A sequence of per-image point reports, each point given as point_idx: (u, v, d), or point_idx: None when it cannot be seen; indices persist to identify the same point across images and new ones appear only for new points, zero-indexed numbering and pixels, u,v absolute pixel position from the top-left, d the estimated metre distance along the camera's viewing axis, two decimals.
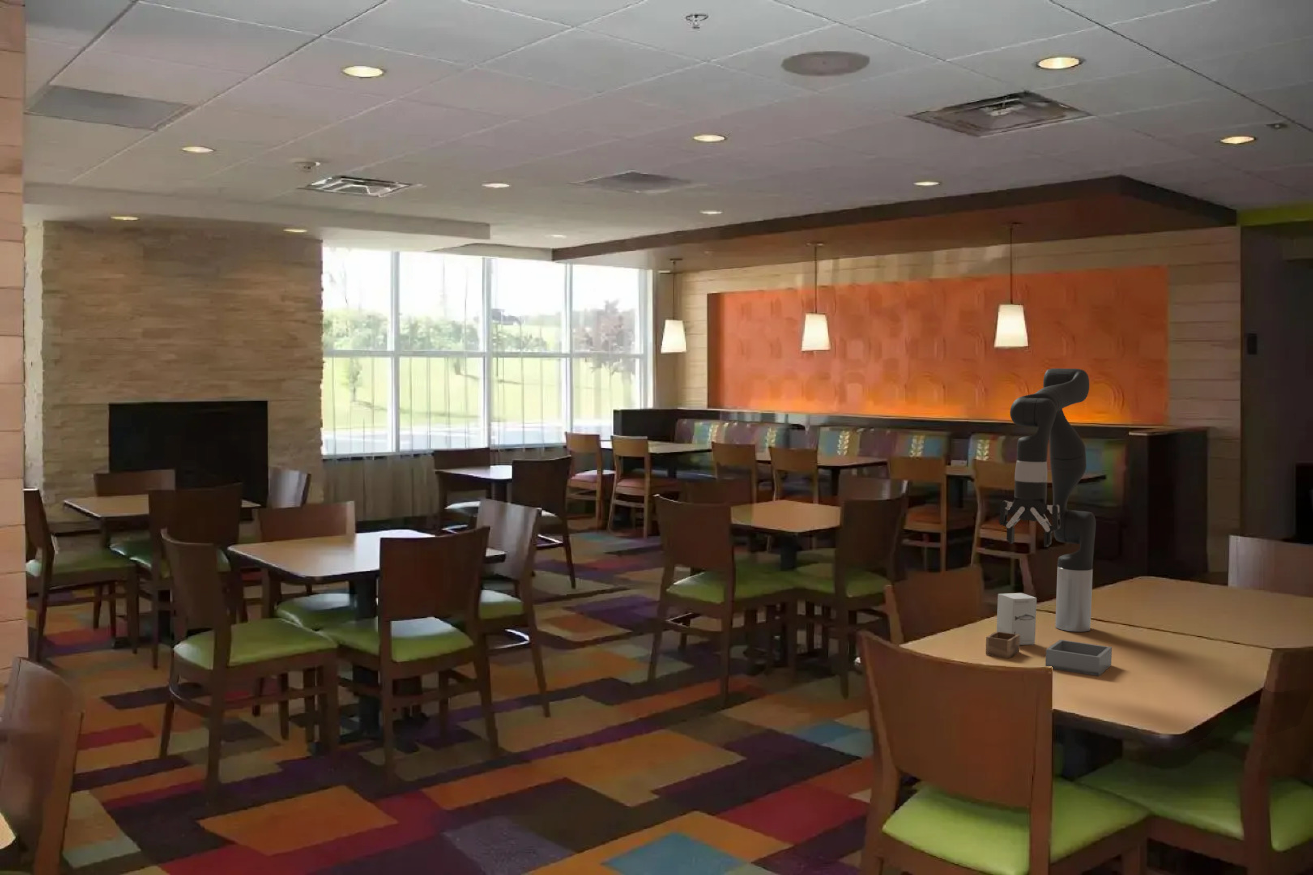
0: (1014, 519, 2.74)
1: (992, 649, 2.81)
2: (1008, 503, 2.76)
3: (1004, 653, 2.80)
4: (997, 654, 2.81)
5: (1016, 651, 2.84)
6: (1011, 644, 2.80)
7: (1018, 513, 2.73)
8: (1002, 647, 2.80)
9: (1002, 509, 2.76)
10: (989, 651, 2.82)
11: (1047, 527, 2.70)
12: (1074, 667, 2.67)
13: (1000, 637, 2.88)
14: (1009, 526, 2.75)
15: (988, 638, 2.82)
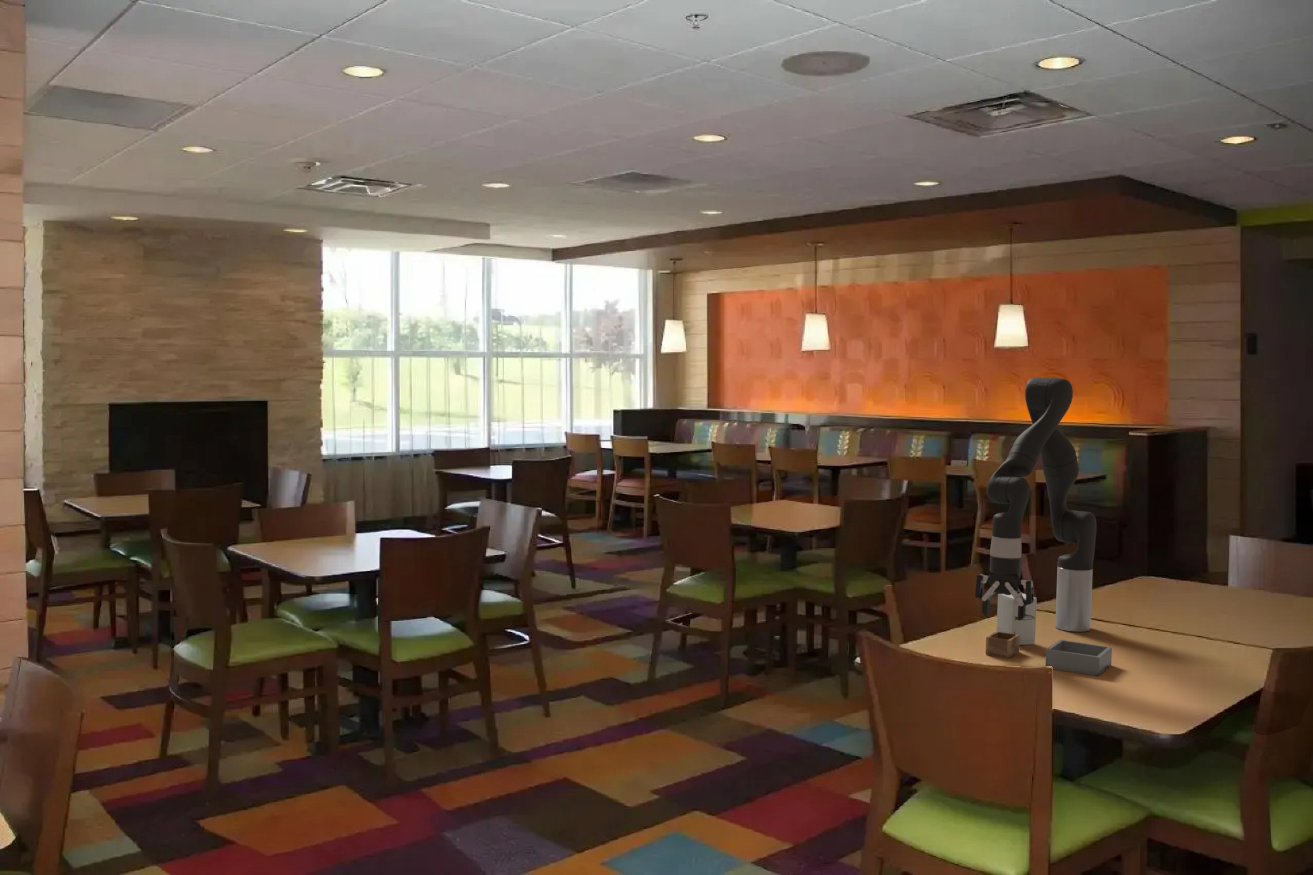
0: (989, 593, 2.83)
1: (992, 649, 2.81)
2: (984, 577, 2.85)
3: (1004, 653, 2.80)
4: (997, 654, 2.81)
5: (1016, 651, 2.84)
6: (1011, 644, 2.80)
7: (993, 587, 2.83)
8: (1002, 647, 2.80)
9: (978, 582, 2.86)
10: (989, 651, 2.82)
11: (1021, 601, 2.79)
12: (1074, 667, 2.67)
13: (1000, 637, 2.88)
14: (984, 599, 2.85)
15: (988, 638, 2.82)
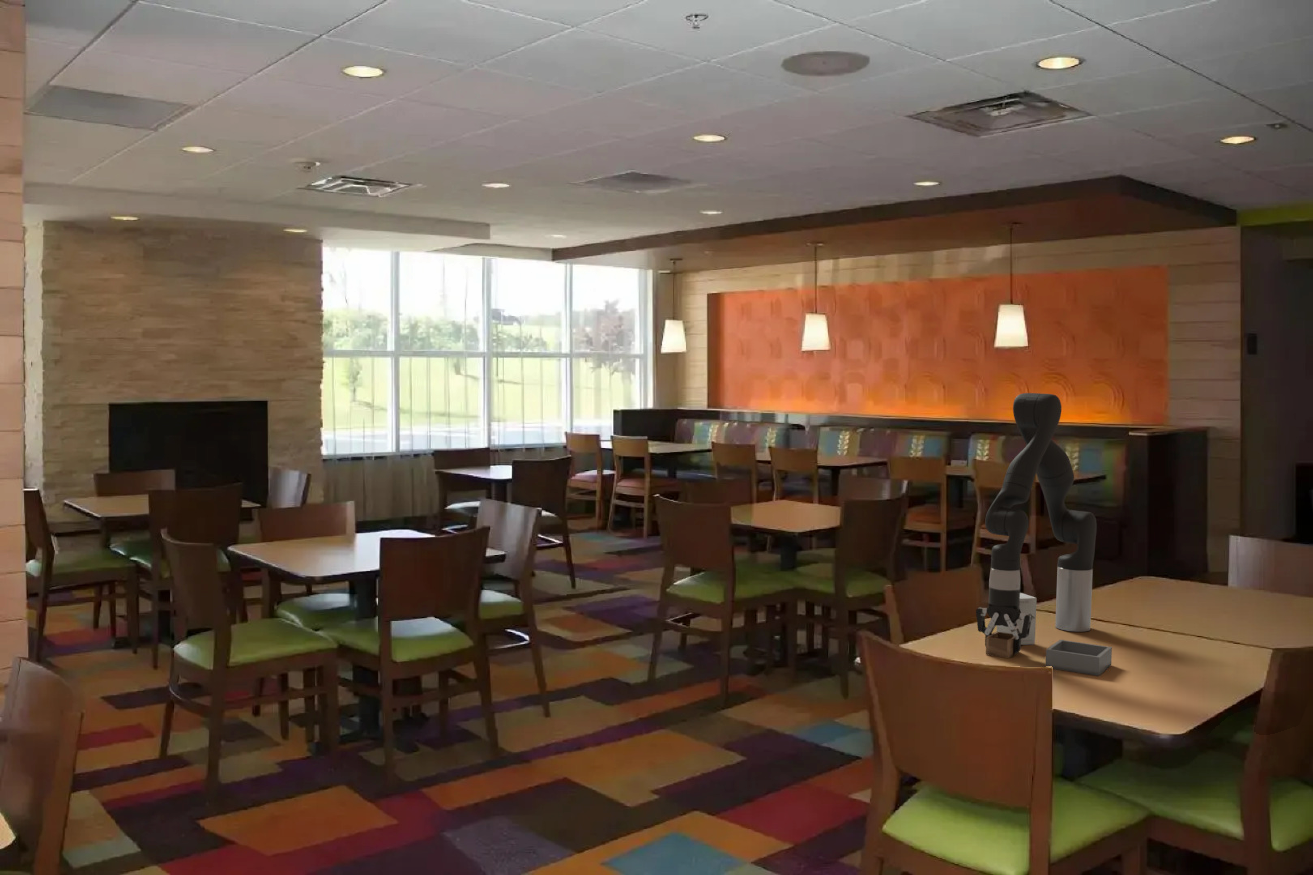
0: (991, 626, 2.84)
1: (992, 649, 2.81)
2: (983, 609, 2.86)
3: (1004, 653, 2.80)
4: (997, 654, 2.81)
5: None
6: (1011, 644, 2.80)
7: (993, 619, 2.83)
8: (1002, 647, 2.80)
9: (978, 616, 2.86)
10: (989, 651, 2.82)
11: (1016, 635, 2.81)
12: (1074, 667, 2.67)
13: (1000, 637, 2.88)
14: (987, 633, 2.85)
15: (988, 638, 2.82)
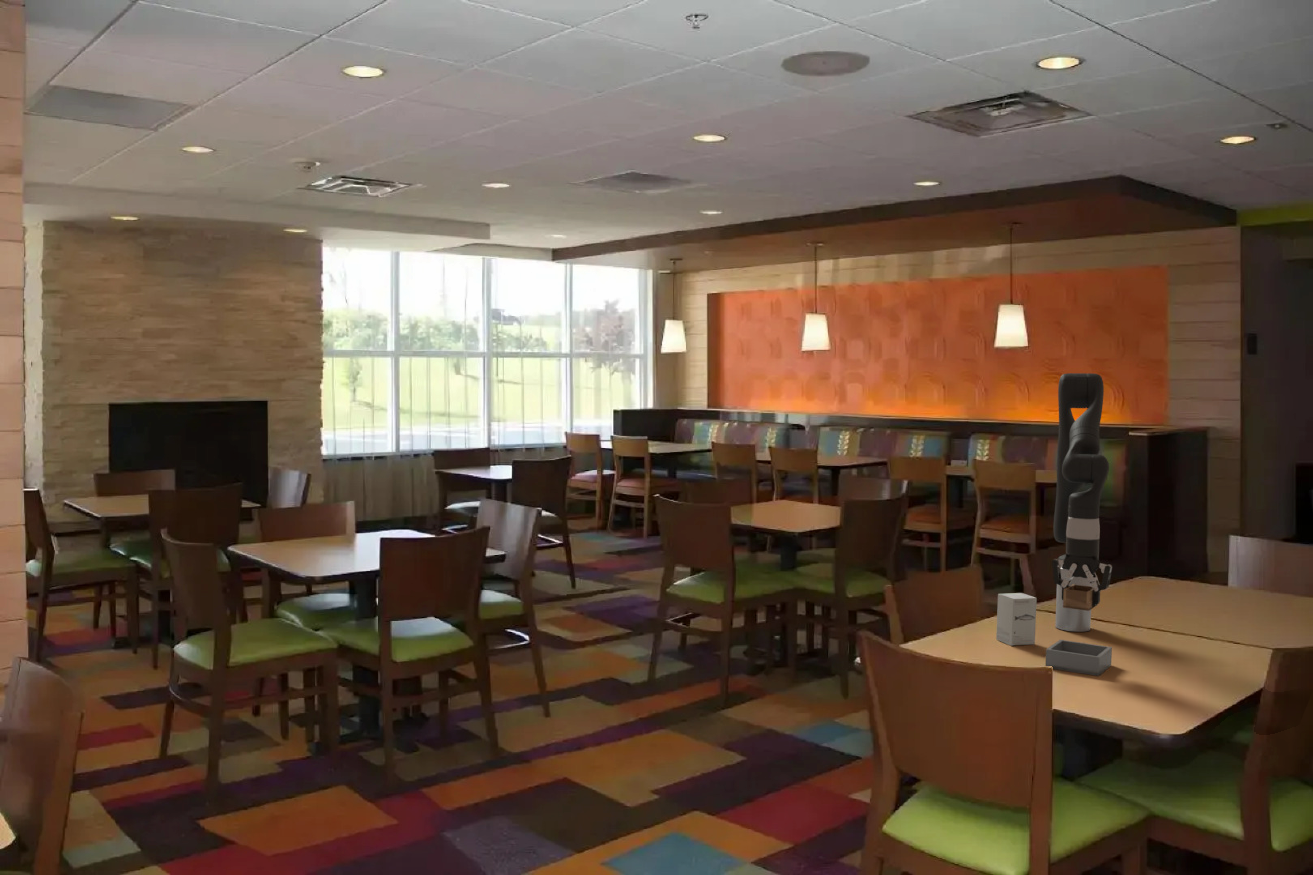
0: (1068, 577, 2.71)
1: (1070, 602, 2.69)
2: (1059, 561, 2.73)
3: (1083, 605, 2.67)
4: (1075, 607, 2.68)
5: None
6: (1090, 596, 2.67)
7: (1071, 571, 2.71)
8: (1081, 599, 2.67)
9: (1054, 568, 2.73)
10: (1067, 604, 2.69)
11: (1096, 587, 2.68)
12: (1074, 667, 2.67)
13: (1077, 590, 2.75)
14: (1064, 585, 2.72)
15: (1066, 590, 2.69)
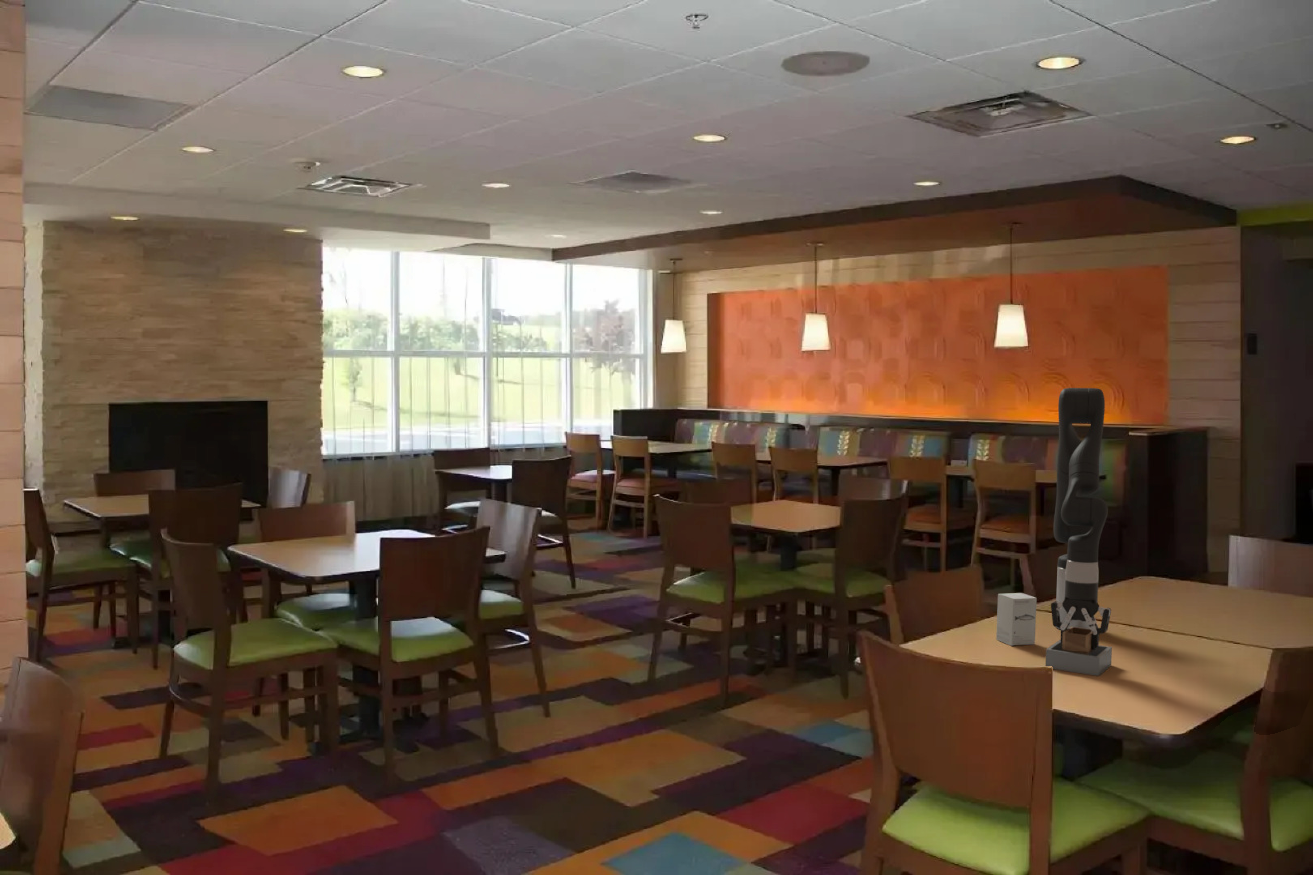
0: (1067, 620, 2.72)
1: (1069, 645, 2.69)
2: (1058, 604, 2.74)
3: (1082, 649, 2.68)
4: (1074, 650, 2.69)
5: None
6: (1089, 639, 2.68)
7: (1070, 614, 2.71)
8: (1080, 643, 2.68)
9: (1053, 611, 2.74)
10: (1066, 647, 2.70)
11: (1095, 630, 2.69)
12: (1074, 667, 2.67)
13: (1076, 632, 2.76)
14: (1063, 628, 2.73)
15: (1065, 633, 2.70)
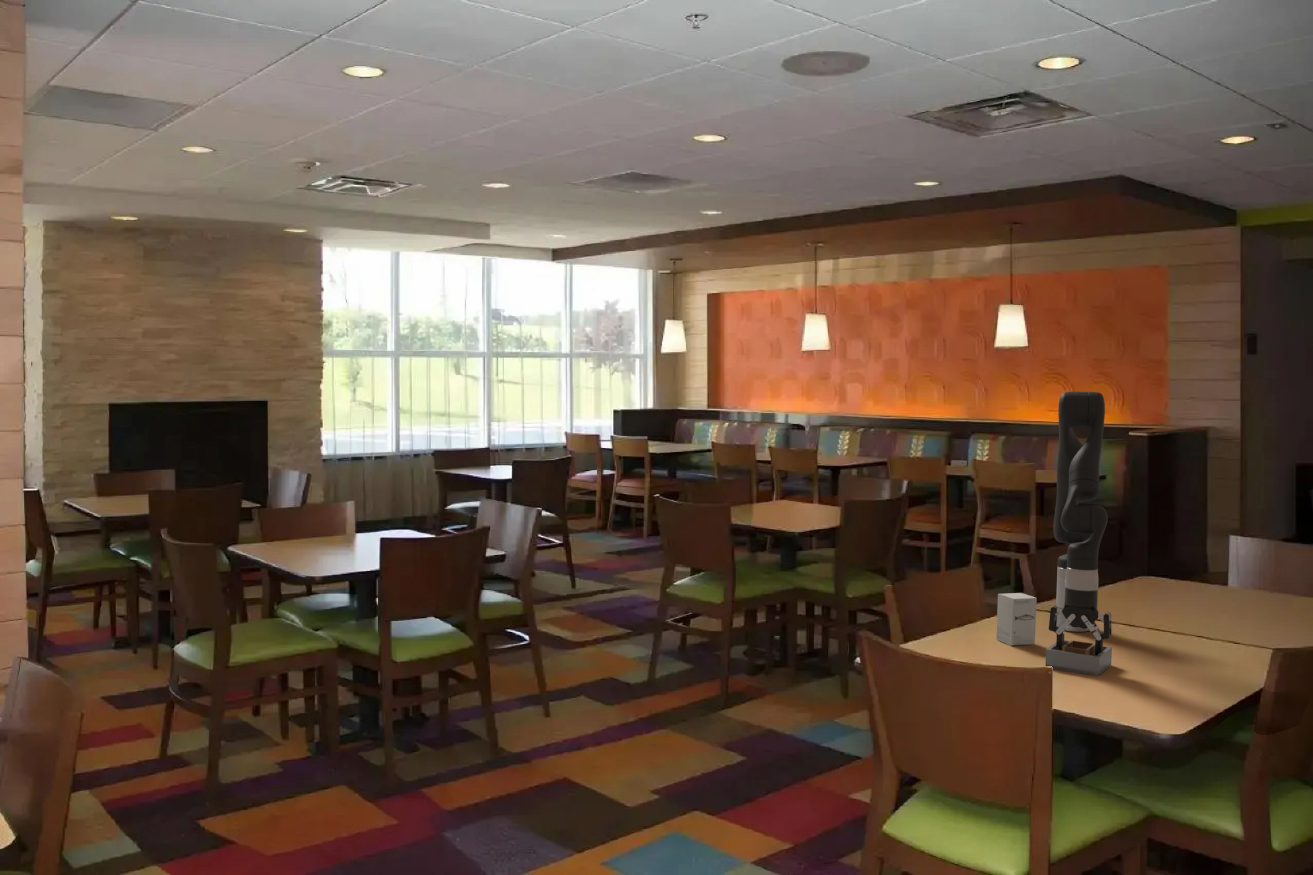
0: (1064, 626, 2.72)
1: None
2: (1058, 609, 2.74)
3: None
4: None
5: None
6: (1089, 654, 2.68)
7: (1068, 620, 2.72)
8: None
9: (1052, 615, 2.74)
10: None
11: (1098, 635, 2.68)
12: (1074, 667, 2.67)
13: (1075, 646, 2.76)
14: (1059, 632, 2.73)
15: (1064, 647, 2.70)
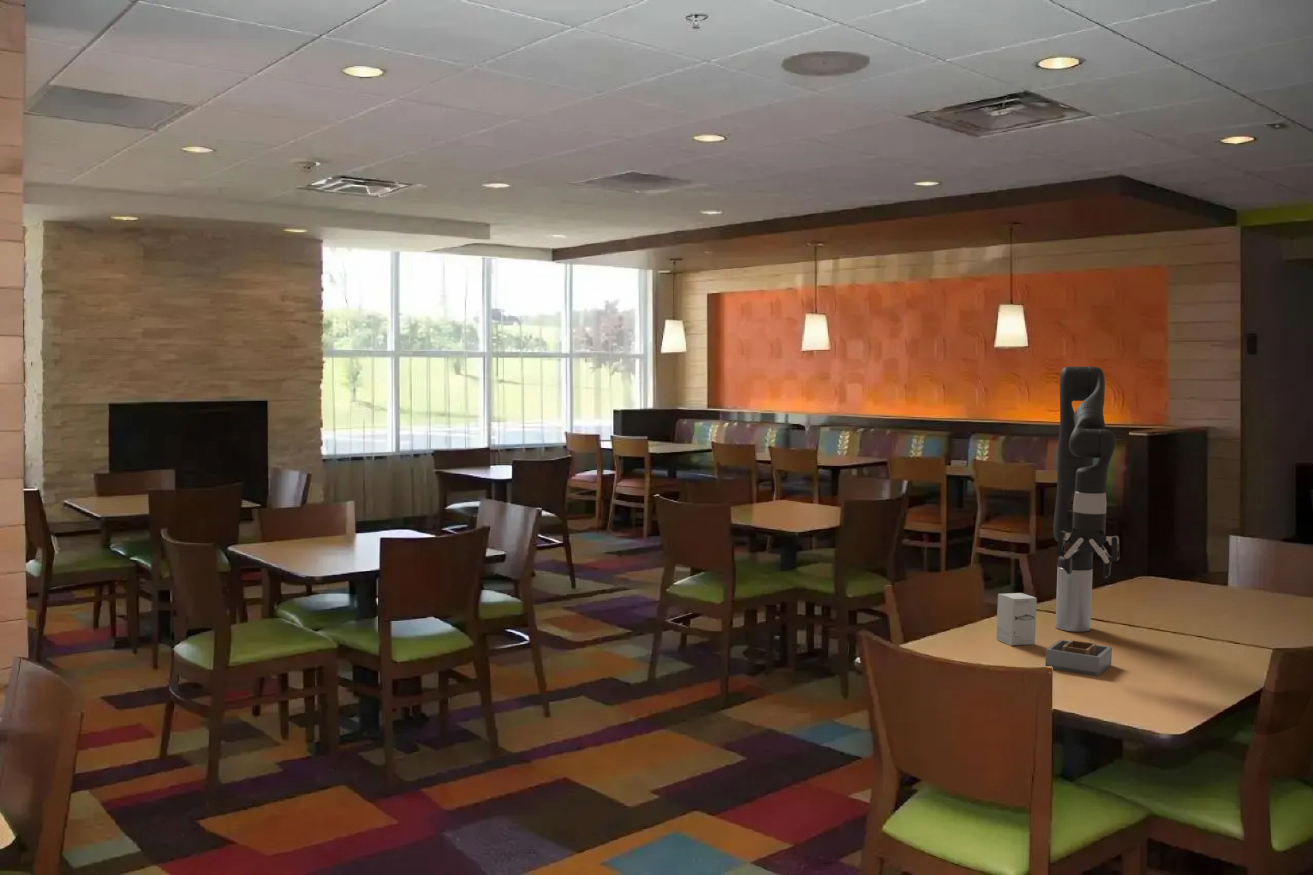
0: (1072, 550, 2.73)
1: None
2: (1066, 533, 2.75)
3: None
4: None
5: None
6: (1089, 654, 2.68)
7: (1076, 544, 2.73)
8: None
9: (1060, 539, 2.75)
10: None
11: (1106, 559, 2.69)
12: (1074, 667, 2.67)
13: (1075, 646, 2.76)
14: (1067, 557, 2.75)
15: (1064, 647, 2.70)
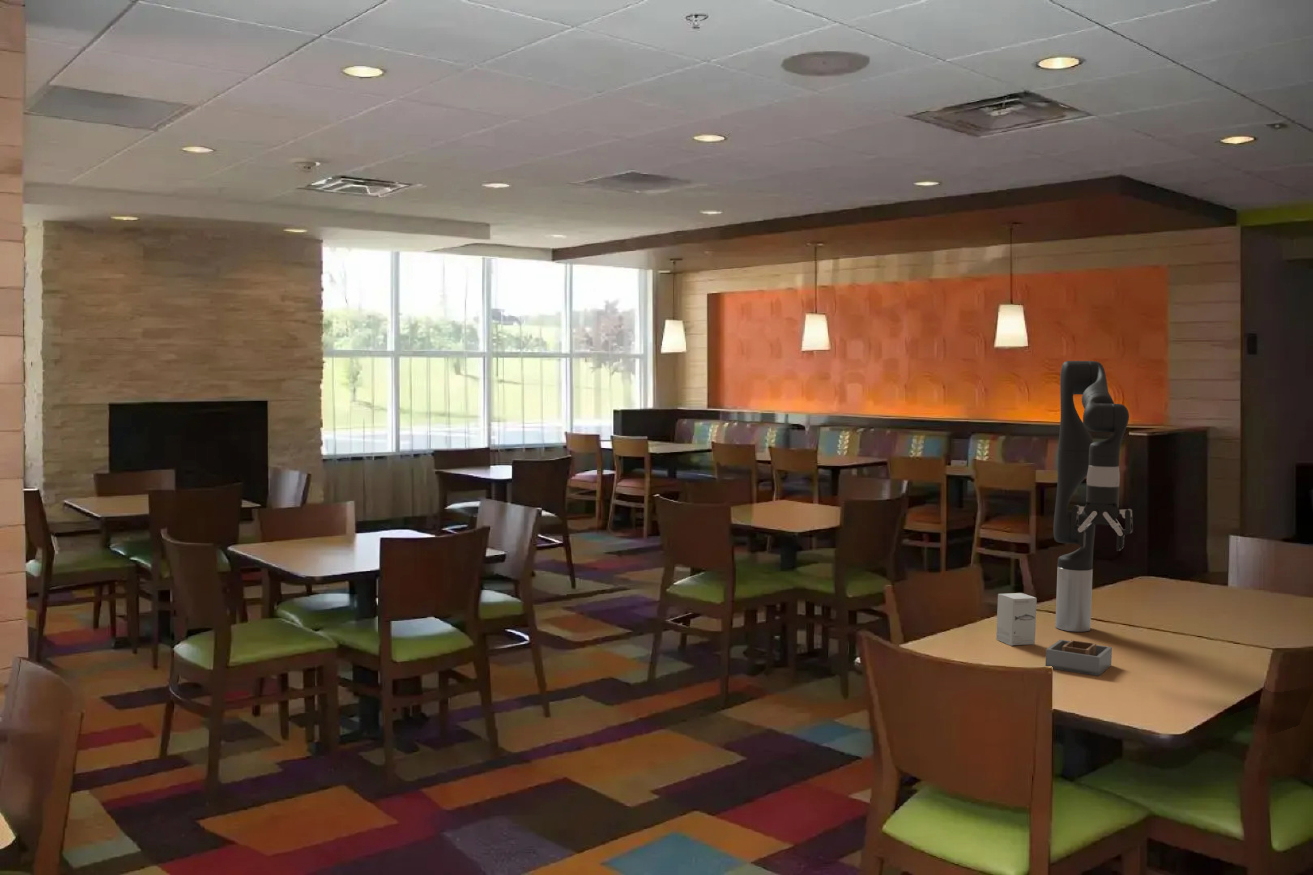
0: (1086, 523, 2.77)
1: None
2: (1080, 507, 2.79)
3: None
4: None
5: None
6: (1089, 654, 2.68)
7: (1090, 517, 2.76)
8: None
9: (1074, 513, 2.79)
10: None
11: (1120, 531, 2.73)
12: (1074, 667, 2.67)
13: (1075, 646, 2.76)
14: (1081, 530, 2.78)
15: (1064, 647, 2.70)
